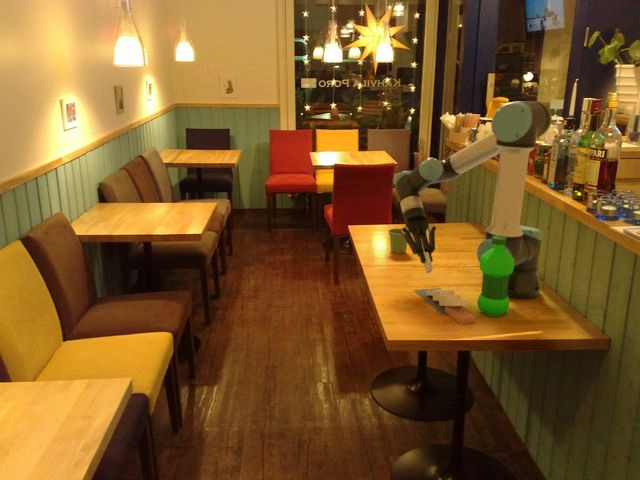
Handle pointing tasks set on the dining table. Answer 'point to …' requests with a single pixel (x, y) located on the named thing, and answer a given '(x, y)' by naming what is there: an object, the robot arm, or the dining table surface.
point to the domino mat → (430, 301)
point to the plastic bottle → (495, 278)
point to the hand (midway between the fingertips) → (429, 271)
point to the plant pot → (397, 241)
